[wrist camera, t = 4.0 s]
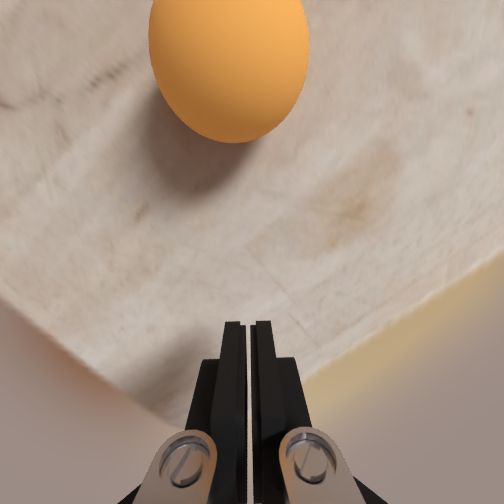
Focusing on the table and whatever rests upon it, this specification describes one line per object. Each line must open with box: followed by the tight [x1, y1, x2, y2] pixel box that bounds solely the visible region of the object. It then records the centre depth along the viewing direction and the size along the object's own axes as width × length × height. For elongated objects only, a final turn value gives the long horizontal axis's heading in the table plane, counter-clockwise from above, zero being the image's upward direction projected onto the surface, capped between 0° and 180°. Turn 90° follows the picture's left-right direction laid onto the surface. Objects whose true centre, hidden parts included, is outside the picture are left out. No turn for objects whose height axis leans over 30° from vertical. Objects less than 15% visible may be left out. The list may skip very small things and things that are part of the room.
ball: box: [148, 0, 309, 143], centre depth 8 cm, size 5×5×5 cm
